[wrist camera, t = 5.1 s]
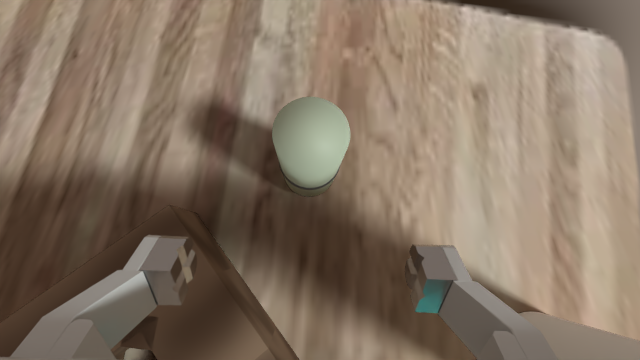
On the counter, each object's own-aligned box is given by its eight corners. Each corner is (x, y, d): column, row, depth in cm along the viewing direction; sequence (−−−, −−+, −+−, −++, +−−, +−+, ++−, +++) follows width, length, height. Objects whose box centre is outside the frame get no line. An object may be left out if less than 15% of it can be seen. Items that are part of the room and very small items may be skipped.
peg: (343, 180, 26) (367, 140, 16) (304, 210, 25) (303, 188, 15) (313, 142, 26) (318, 81, 16) (274, 170, 25) (254, 125, 16)
